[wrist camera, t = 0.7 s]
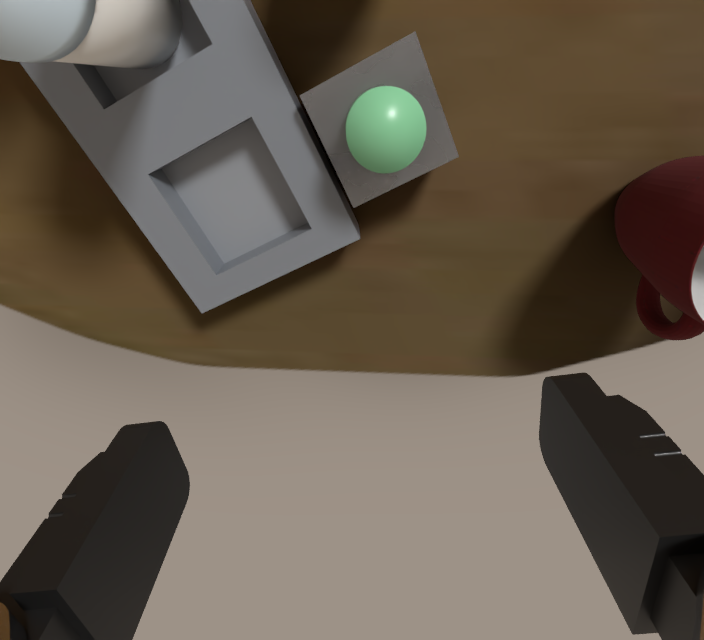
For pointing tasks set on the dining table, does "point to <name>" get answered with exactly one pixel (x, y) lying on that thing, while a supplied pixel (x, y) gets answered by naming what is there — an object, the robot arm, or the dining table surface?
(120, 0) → the white jar
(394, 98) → the button
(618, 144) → the dining table surface
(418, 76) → the button box
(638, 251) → the mug
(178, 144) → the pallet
